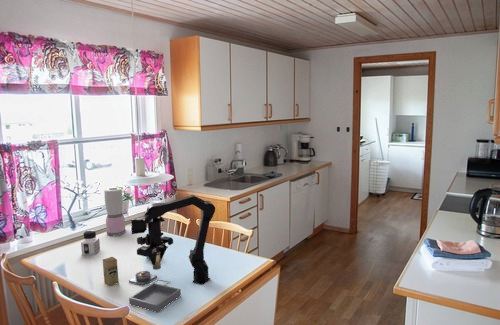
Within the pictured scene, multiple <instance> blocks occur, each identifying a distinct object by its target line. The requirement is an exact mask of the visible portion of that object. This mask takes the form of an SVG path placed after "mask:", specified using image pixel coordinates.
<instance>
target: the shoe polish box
mask: <svg viewBox="0 0 500 325" xmlns="http://www.w3.org/2000/svg"><path fill="white" fill-rule="evenodd" d="M102 268H103V270H102V271H103V279H104V280H103V282H104V284H105V285H106V286H108V287H111V286H113V285H116V283H117V284H118V283H119V282H120V281H119V272H118V271H119V269H118V268H119V267H118V259H117V258H115V257H113V256H110V257H107V258H104V259H102Z"/></svg>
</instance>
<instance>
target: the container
mask: <svg viewBox="0 0 500 325" xmlns="http://www.w3.org/2000/svg"><path fill="white" fill-rule="evenodd" d="M100 244H101V243H100V237H97V234H96V231H95V230H92V229H90V230H86V231H84V232H83V240H82V241H81V242H80V246H81V248H80V249H81V256H84V255H86V256H88V255H89V256H90V255H91V256H92V255H94V256H95V255H96V254H98V252H100V251H101V245H100Z"/></svg>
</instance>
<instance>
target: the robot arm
mask: <svg viewBox="0 0 500 325" xmlns="http://www.w3.org/2000/svg"><path fill="white" fill-rule="evenodd" d="M188 206H189V207H190V206H195V207H196V208H198V209H199V210H200V223H199V227H198V231H197V236H196V241H195V245H194V248H192V249H190V250H189V255H188V260H189V262H190V265H191V266H192V268H193V272H192V273H193V280H192V283H194V284H195V283H196V284H199V285H205V284H207V283H208V282H209V281H210V280H211V278H210V277H209V266H208V264H207V262H206V260H205V256H204V254H205V253H204V251H205V250H204V249H205V244H206V241H207V240H206V239H207V236H208V232H209V226H210V222H211V220H212V219H213V217H214V215H215V213H216V207H215V205H214V204H213V203H212V202H211V201H210V200H205V199H202V198H200V197H198V196H196V195H195V194H190V195H188V196H184V197H181V198H177V199H174V200H170V201H167V202H155V203H154V202H153V203H150V204H149V205H148V206H147V208H146V212H145V213H144V215H143V216H142V217H141V218H131V219H130V220H131V222H130V223H131V224H130V225H131V226H130V227H131V231H130V232H131V235H138V234H145V232H146V231H148V233H146V235H145V236H138V237H137V238H136V243H137V245H140V246H141V247H138V248H137V249H136V255H137V256H142V257H146V256H149V258H150V260H149V261H150V262H151V265H152V266H153V265H155V262H156V256H157V252H155V248H156V250H160V251H161V254H160V261H162V259H163V257H164V255H165V253H166V250H167V249H169V246H171V245H172V244H174V239H173V237H170V236H164V232H162V225H161V224H162V223H164V222H165V218H164V217H163V216H164V215H165V214H167V213H168V212H172V211H175V210H179V209H182V208H185V207H188ZM166 244H168V245H166ZM148 245H149V247H147V246H148ZM146 258H147V257H146Z"/></svg>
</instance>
